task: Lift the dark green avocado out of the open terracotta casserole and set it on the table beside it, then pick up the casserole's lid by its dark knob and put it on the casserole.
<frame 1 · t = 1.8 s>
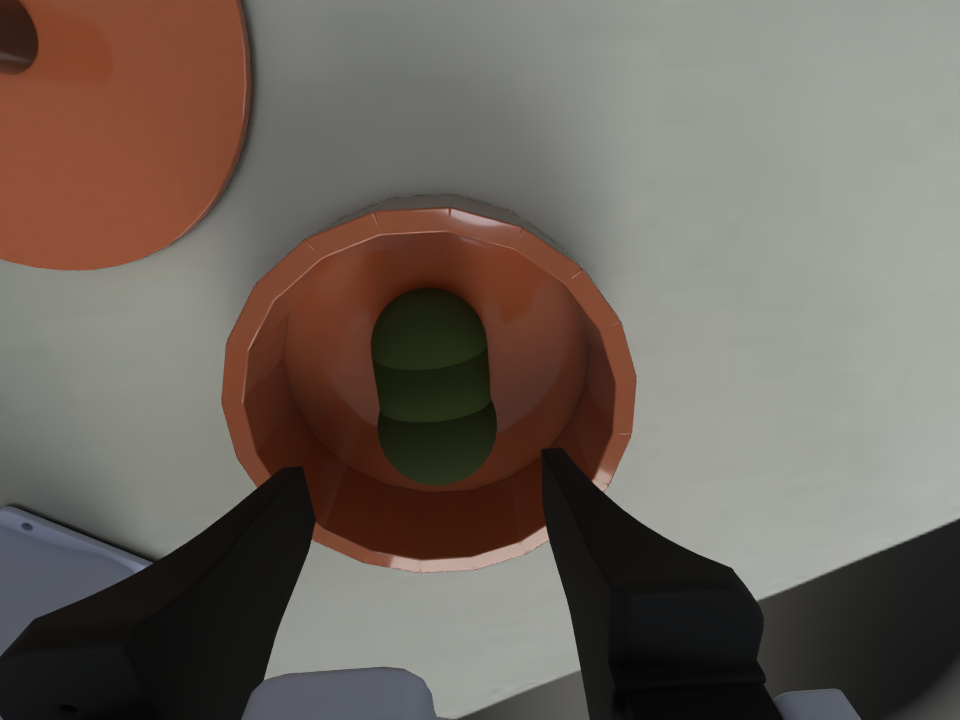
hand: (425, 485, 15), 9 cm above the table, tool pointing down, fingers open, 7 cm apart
pot: (438, 366, 23), on the table
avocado: (438, 369, 23), resting on pot
lid: (9, 34, 17), point 1 cm above the table
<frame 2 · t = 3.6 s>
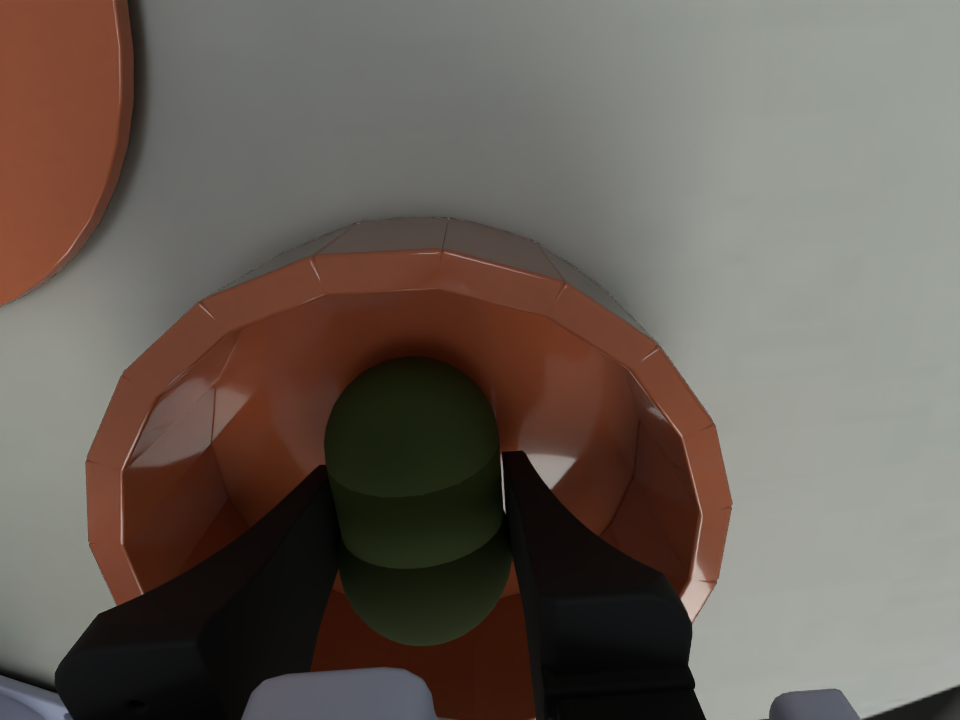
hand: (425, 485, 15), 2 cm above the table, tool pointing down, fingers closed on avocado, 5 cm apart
pot: (429, 451, 17), on the table
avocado: (428, 458, 16), resting on pot, touching gripper
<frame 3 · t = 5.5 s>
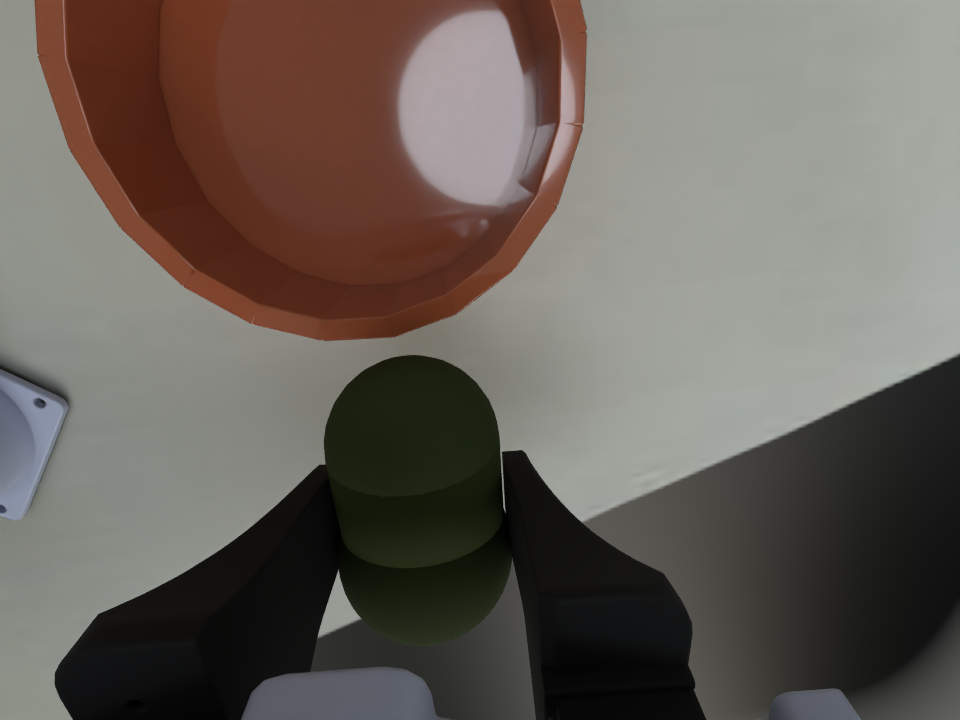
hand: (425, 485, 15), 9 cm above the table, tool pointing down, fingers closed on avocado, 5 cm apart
pot: (355, 104, 19), on the table
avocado: (428, 457, 16), point 7 cm above the table, touching gripper
when the fingers open (1 cm above the table, at t = 8.0 s): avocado stays where it is, on the table.
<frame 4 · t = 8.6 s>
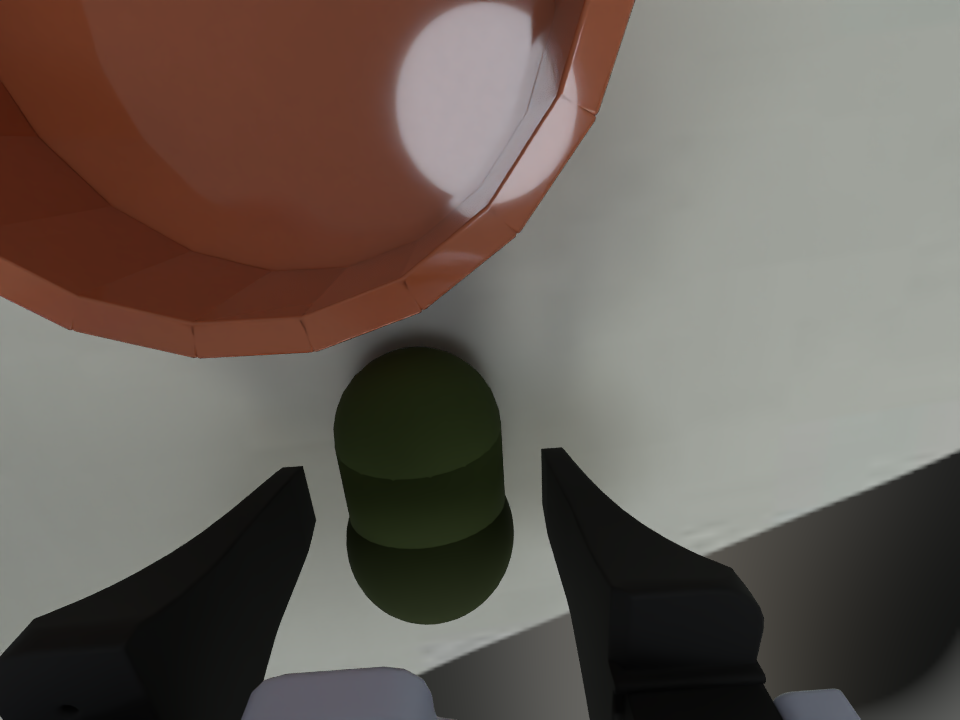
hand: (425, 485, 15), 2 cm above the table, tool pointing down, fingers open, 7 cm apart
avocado: (431, 447, 17), on the table
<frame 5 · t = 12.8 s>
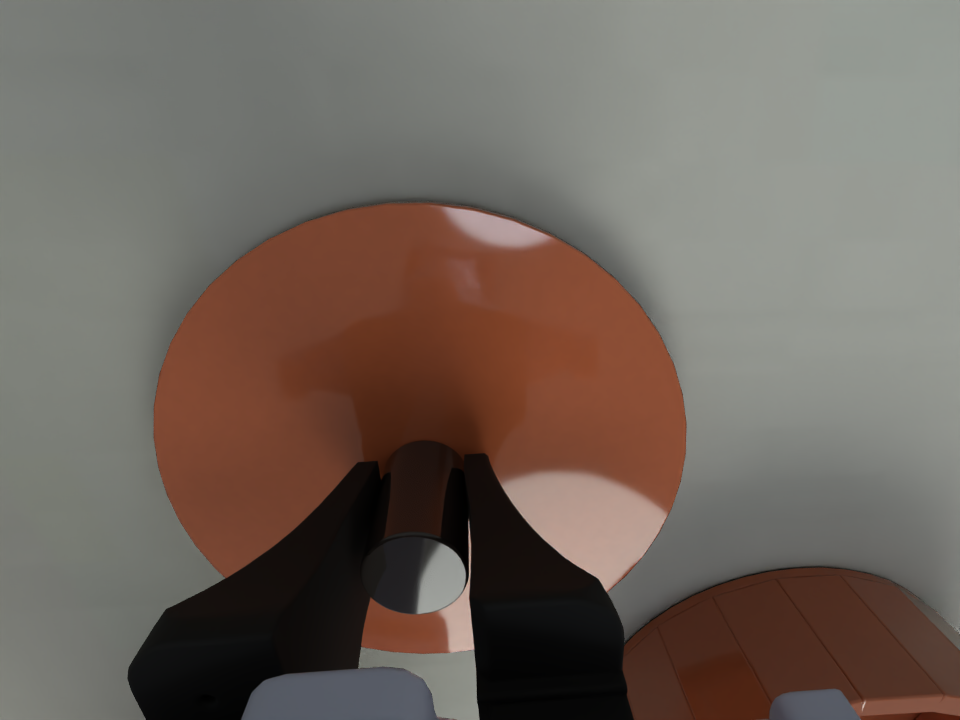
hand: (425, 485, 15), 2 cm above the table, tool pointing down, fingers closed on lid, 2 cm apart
pot: (765, 697, 22), on the table
lid: (427, 465, 16), point 1 cm above the table, touching gripper
when the fingers open (6 cm above the table, at t = 16.6 s): lid stays where it is, resting on pot.
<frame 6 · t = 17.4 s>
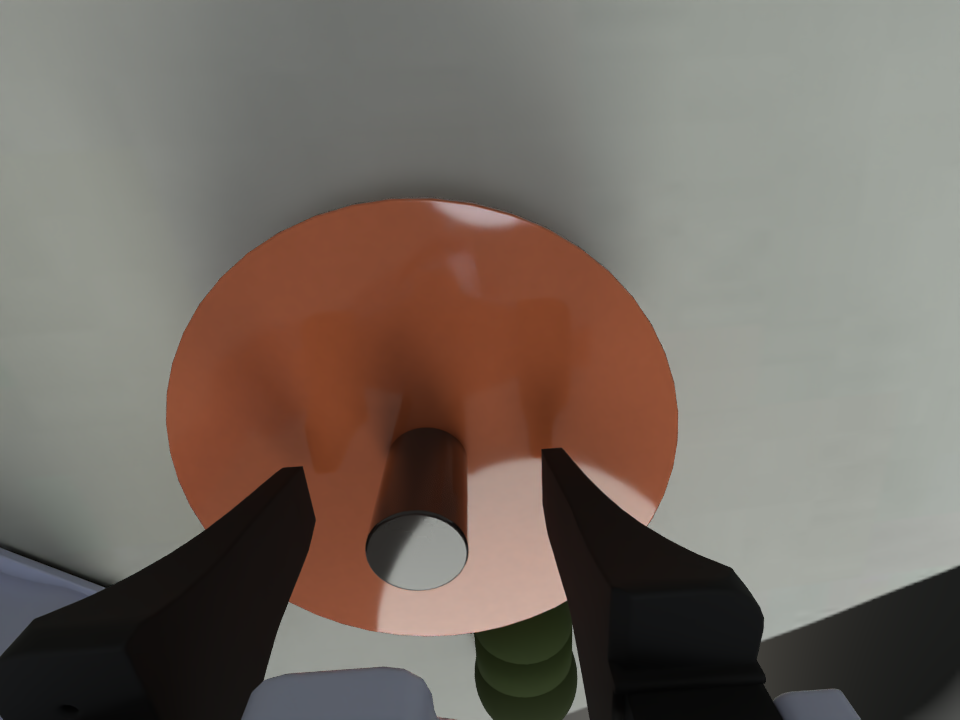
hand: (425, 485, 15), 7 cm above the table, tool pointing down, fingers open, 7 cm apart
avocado: (511, 609, 26), on the table, tilted 10°
lid: (428, 452, 17), point 5 cm above the table, touching pot
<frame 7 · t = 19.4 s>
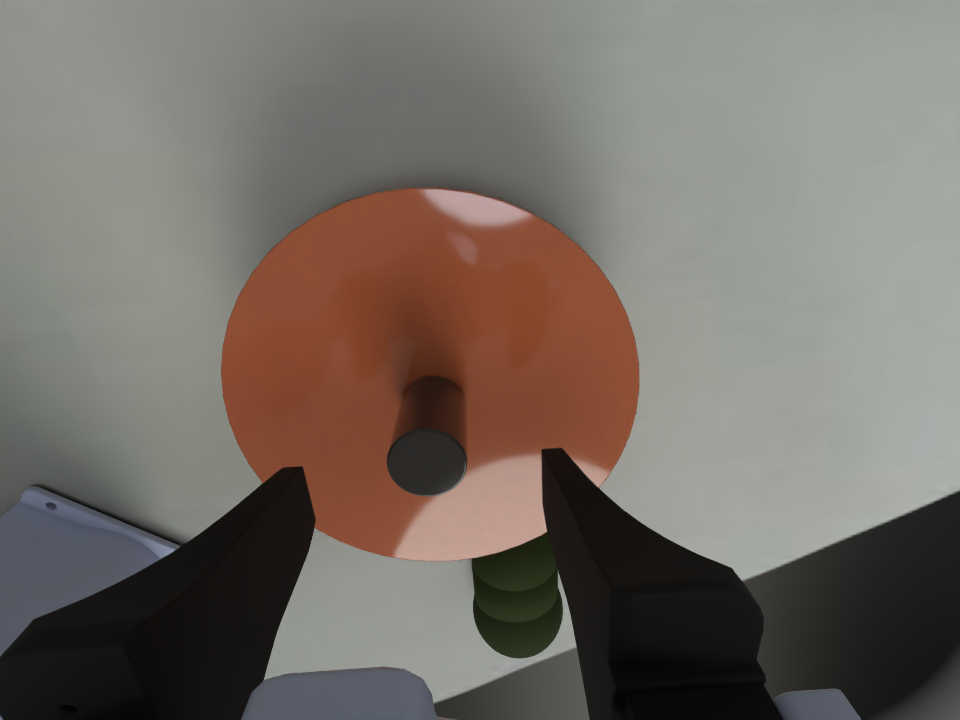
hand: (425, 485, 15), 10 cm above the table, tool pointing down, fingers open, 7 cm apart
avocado: (505, 555, 30), on the table, tilted 10°
lid: (434, 399, 20), point 5 cm above the table, touching pot
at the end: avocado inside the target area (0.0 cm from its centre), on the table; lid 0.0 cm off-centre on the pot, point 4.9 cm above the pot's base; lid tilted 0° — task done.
